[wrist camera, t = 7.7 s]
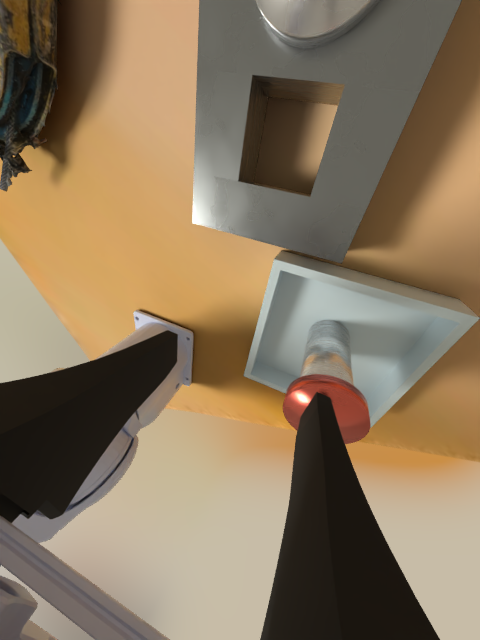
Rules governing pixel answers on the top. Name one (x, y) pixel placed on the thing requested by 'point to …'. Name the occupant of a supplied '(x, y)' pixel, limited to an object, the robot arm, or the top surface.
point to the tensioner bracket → (313, 86)
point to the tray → (353, 327)
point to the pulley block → (25, 78)
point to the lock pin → (329, 381)
